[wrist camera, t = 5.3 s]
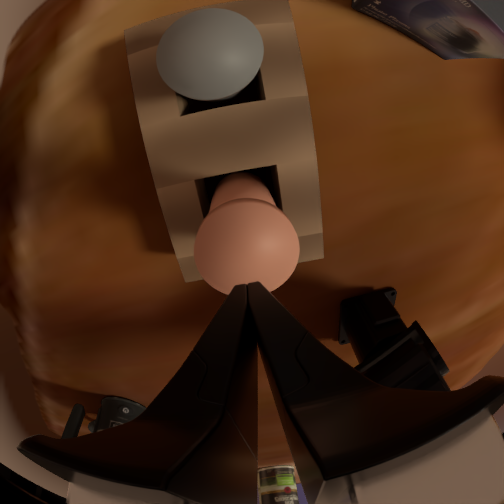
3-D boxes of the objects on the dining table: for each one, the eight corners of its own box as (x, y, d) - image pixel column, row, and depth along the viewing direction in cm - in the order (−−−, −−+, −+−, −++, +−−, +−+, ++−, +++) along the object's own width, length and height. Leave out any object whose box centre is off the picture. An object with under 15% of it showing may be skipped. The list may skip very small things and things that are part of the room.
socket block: (309, 234, 22) (323, 257, 19) (192, 255, 23) (185, 282, 19) (277, 17, 14) (287, -3, 10) (142, 44, 14) (123, 30, 10)
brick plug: (278, 223, 20) (302, 287, 13) (216, 234, 20) (208, 304, 13) (269, 162, 18) (294, 194, 11) (202, 174, 18) (181, 215, 11)
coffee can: (266, 464, 52) (272, 511, 39) (300, 464, 54) (308, 507, 42) (249, 473, 56) (253, 515, 43) (281, 474, 58) (286, 513, 46)
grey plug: (256, 101, 17) (272, 89, 10) (192, 113, 17) (165, 110, 10) (245, 44, 15) (253, 1, 8) (181, 57, 15) (150, 23, 8)
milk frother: (149, 401, 34) (135, 488, 20) (165, 438, 41) (159, 503, 28) (70, 384, 32) (45, 458, 19) (100, 425, 39) (86, 485, 26)
